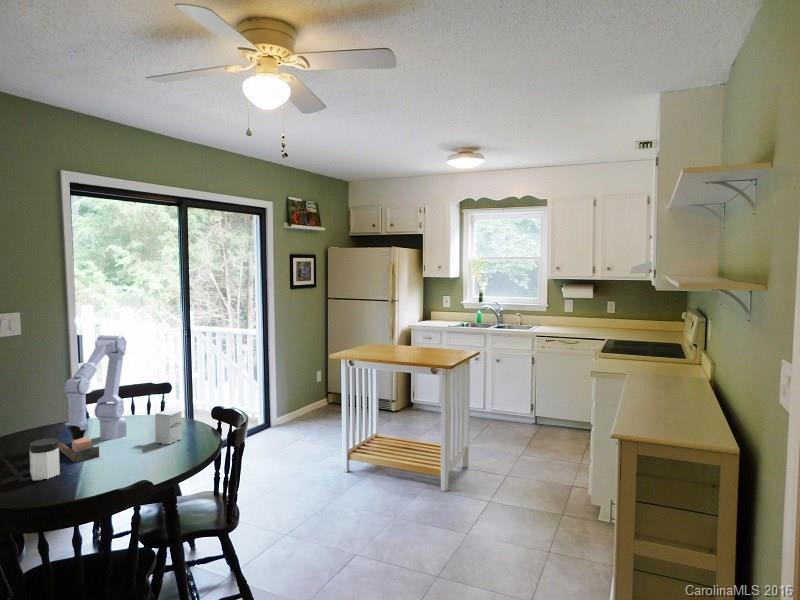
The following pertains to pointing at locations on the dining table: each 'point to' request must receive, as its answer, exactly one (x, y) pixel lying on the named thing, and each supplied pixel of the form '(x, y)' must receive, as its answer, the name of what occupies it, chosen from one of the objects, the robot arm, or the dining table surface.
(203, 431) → the dining table surface
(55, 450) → the jar
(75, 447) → the terracotta block
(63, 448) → the brown wooden tray
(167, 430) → the supplement box
